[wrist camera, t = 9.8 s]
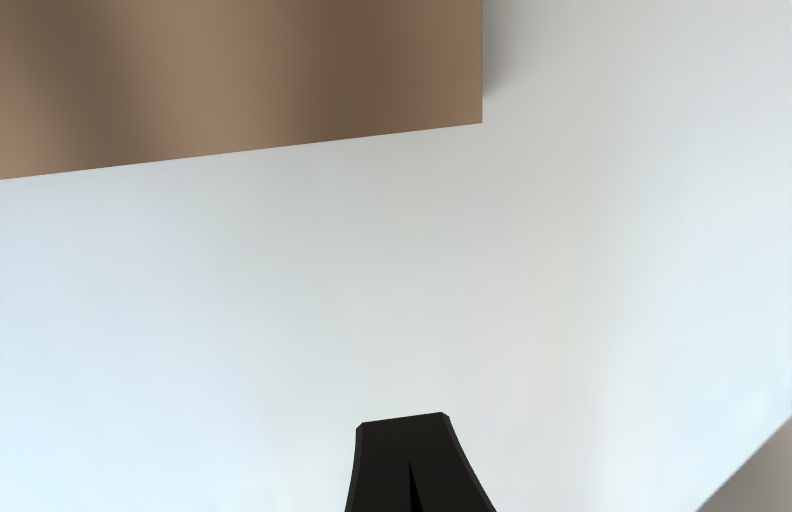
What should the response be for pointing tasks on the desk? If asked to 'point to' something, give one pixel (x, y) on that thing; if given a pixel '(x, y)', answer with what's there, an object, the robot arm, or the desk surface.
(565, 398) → the desk surface
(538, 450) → the desk surface
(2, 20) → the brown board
